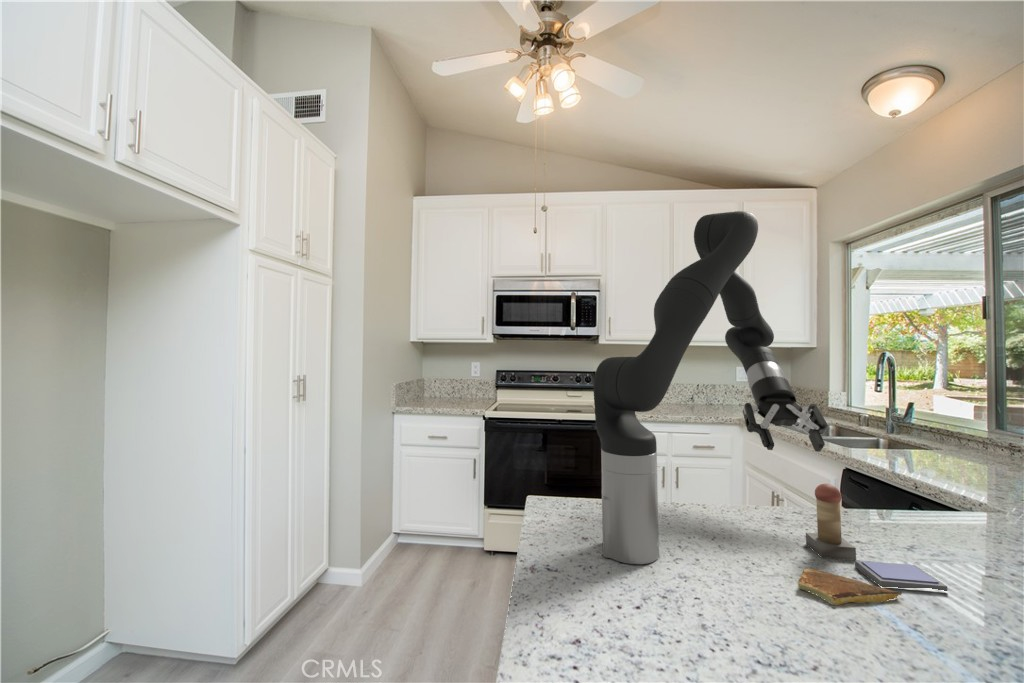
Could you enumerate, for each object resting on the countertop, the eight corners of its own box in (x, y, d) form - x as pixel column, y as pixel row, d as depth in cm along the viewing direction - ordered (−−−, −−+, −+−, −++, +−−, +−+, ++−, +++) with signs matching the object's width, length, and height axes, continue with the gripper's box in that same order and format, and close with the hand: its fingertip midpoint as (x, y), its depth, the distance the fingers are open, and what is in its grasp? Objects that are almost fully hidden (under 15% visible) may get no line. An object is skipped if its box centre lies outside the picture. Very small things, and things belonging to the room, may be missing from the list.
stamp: (821, 557, 68) (818, 488, 68) (806, 544, 73) (803, 479, 73) (856, 560, 67) (853, 489, 67) (838, 546, 72) (835, 480, 72)
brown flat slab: (902, 603, 56) (901, 590, 56) (903, 631, 50) (902, 616, 50) (805, 575, 63) (804, 563, 63) (796, 597, 58) (795, 584, 58)
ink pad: (880, 587, 59) (880, 579, 59) (855, 566, 65) (854, 559, 65) (947, 593, 57) (947, 584, 57) (915, 571, 63) (914, 563, 63)
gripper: (738, 375, 92) (760, 436, 80) (810, 374, 89) (843, 438, 78) (731, 396, 97) (751, 457, 85) (799, 397, 94) (829, 460, 83)
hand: (795, 448), depth 81 cm, fingers open, 8 cm apart
